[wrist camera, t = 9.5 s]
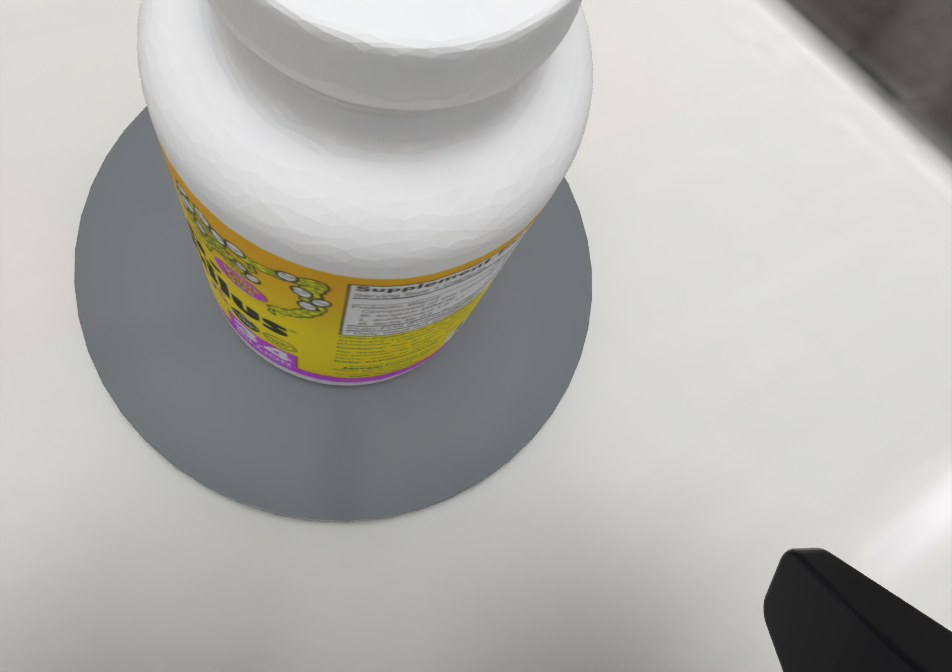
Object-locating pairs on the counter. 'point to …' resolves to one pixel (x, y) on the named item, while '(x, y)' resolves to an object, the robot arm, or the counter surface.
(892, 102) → the counter surface
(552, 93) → the supplement bottle
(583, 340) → the slate trivet
